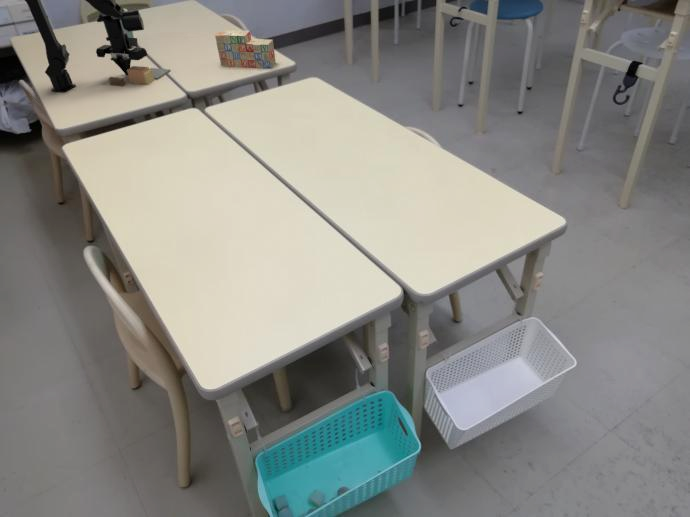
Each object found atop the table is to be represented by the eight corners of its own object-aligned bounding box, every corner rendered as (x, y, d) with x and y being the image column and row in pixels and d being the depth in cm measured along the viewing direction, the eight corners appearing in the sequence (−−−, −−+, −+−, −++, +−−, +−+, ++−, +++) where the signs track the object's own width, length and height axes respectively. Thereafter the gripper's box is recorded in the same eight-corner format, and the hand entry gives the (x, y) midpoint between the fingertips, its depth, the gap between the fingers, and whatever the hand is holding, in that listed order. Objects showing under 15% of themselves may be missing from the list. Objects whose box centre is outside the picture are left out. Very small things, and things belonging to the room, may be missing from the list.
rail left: (123, 86, 201) (121, 79, 200) (110, 84, 203) (108, 78, 201) (126, 84, 202) (124, 78, 201) (113, 83, 204) (110, 76, 202)
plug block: (148, 84, 201) (144, 71, 198) (130, 82, 203) (126, 69, 200) (154, 80, 204) (150, 67, 201) (136, 78, 206) (132, 66, 203)
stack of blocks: (276, 63, 213) (272, 31, 205) (270, 69, 208) (266, 36, 200) (227, 61, 218) (221, 29, 210) (220, 66, 213) (214, 34, 205)
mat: (157, 79, 205) (157, 78, 204) (138, 77, 207) (137, 76, 207) (170, 71, 211) (170, 69, 211) (151, 69, 214) (151, 67, 213)
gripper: (149, 27, 197) (161, 69, 207) (108, 24, 202) (120, 65, 212) (131, 37, 189) (144, 80, 199) (88, 34, 194) (103, 76, 204)
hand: (128, 75), depth 204 cm, fingers closed
